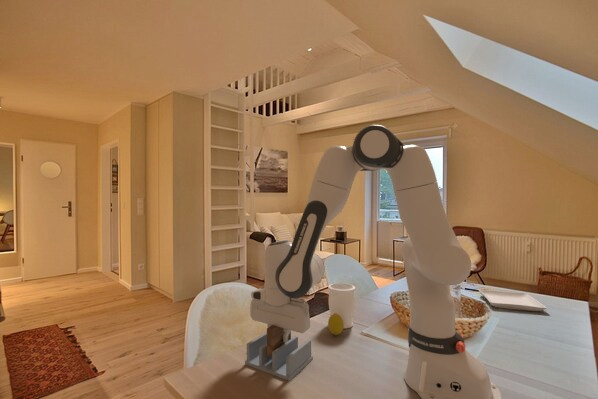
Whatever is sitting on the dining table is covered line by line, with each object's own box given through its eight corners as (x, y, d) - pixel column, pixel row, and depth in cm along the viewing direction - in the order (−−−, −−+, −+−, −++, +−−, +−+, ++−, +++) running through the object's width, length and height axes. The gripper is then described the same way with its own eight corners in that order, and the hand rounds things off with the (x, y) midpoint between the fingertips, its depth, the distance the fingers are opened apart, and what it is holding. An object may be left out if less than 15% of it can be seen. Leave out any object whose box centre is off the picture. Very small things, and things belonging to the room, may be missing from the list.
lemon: (343, 339, 105) (342, 316, 105) (327, 338, 106) (327, 315, 106) (343, 332, 111) (343, 311, 111) (328, 331, 112) (328, 310, 112)
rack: (312, 359, 92) (312, 339, 92) (289, 381, 81) (289, 358, 81) (271, 346, 101) (271, 328, 101) (244, 364, 90) (244, 344, 90)
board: (290, 345, 94) (290, 319, 94) (273, 358, 87) (273, 330, 87) (284, 343, 95) (284, 318, 95) (267, 355, 88) (266, 328, 88)
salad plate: (526, 299, 147) (526, 292, 147) (548, 315, 127) (548, 307, 127) (477, 295, 153) (477, 288, 153) (490, 310, 133) (490, 302, 133)
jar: (323, 324, 119) (322, 286, 119) (340, 317, 125) (340, 281, 125) (344, 332, 111) (343, 292, 111) (361, 325, 117) (360, 286, 118)
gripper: (313, 297, 88) (314, 344, 88) (259, 286, 99) (260, 328, 99) (302, 303, 83) (303, 353, 83) (246, 292, 94) (247, 336, 94)
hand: (279, 340), depth 91 cm, fingers closed on board, 2 cm apart
